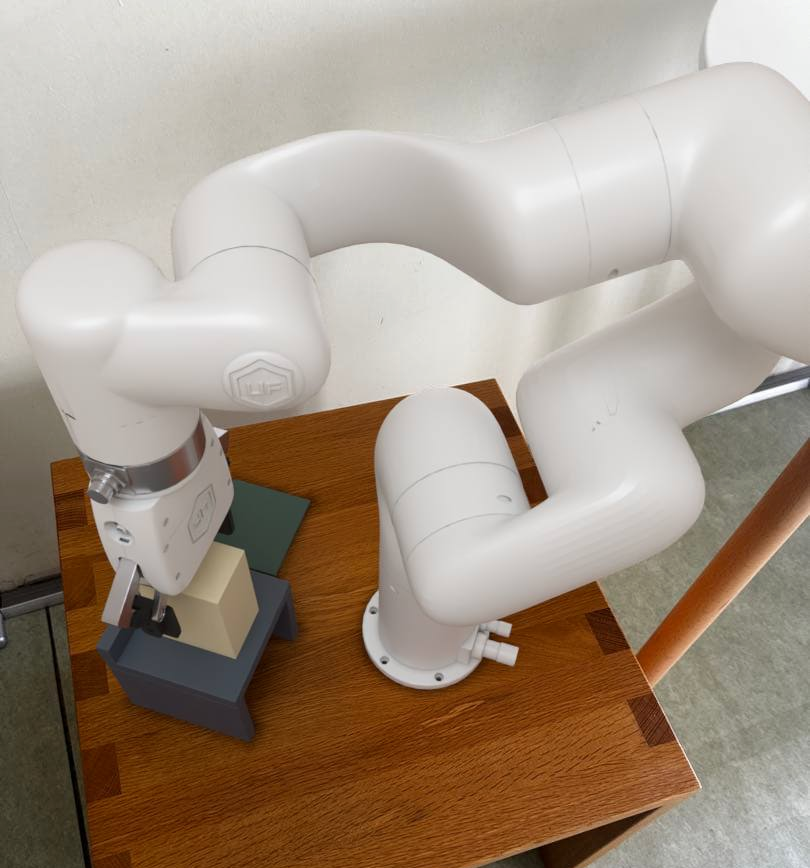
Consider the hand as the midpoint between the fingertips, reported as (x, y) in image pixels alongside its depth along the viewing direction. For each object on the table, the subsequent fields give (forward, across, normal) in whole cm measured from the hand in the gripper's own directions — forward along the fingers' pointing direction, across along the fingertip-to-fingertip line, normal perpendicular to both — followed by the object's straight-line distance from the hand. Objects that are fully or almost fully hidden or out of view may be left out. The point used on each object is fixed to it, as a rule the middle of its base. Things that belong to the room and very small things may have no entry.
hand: (189, 576), depth 65 cm
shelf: (+18, 0, +1) cm, 18 cm away
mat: (+18, +16, +4) cm, 25 cm away
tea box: (+8, 0, 0) cm, 8 cm away
